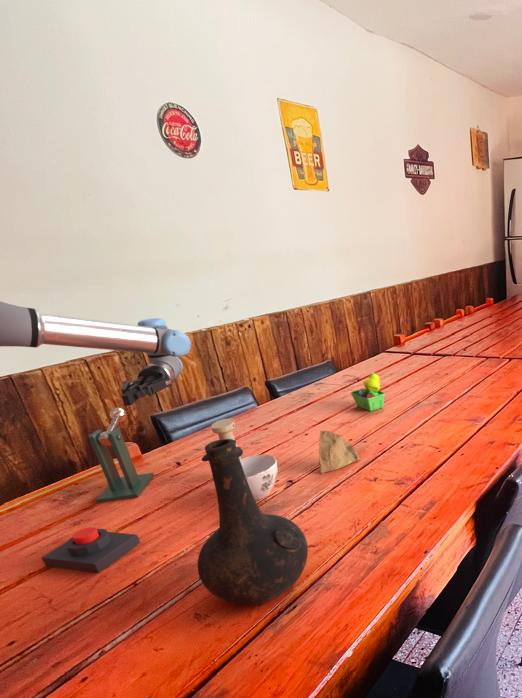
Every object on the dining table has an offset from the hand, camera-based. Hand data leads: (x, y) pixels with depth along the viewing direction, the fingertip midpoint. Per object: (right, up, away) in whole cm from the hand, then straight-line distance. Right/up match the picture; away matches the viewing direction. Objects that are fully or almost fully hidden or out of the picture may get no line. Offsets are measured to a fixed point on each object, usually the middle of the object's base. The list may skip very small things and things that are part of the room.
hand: (126, 400), depth 135 cm
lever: (+3, -9, -7) cm, 12 cm away
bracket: (+5, -23, -6) cm, 25 cm away
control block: (+16, -35, -32) cm, 50 cm away
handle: (+31, -20, -3) cm, 37 cm away
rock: (+57, -17, 0) cm, 59 cm away
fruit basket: (+56, +3, +42) cm, 70 cm away
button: (+15, -32, -33) cm, 49 cm away
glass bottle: (+55, -39, -43) cm, 80 cm away
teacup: (+40, -25, -13) cm, 49 cm away
